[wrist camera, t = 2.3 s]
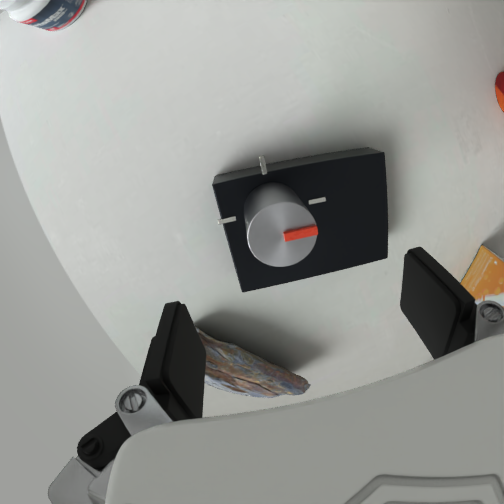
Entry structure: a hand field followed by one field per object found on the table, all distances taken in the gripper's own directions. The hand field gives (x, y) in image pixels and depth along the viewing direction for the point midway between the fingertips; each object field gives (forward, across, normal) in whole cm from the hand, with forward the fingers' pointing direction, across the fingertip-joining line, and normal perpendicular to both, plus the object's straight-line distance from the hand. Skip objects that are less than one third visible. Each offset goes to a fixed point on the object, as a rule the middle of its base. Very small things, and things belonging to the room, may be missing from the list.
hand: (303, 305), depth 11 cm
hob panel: (+15, -3, +2) cm, 16 cm away
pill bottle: (+15, +14, -24) cm, 32 cm away
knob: (+12, 0, 0) cm, 12 cm away
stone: (+15, +8, +19) cm, 26 cm away
